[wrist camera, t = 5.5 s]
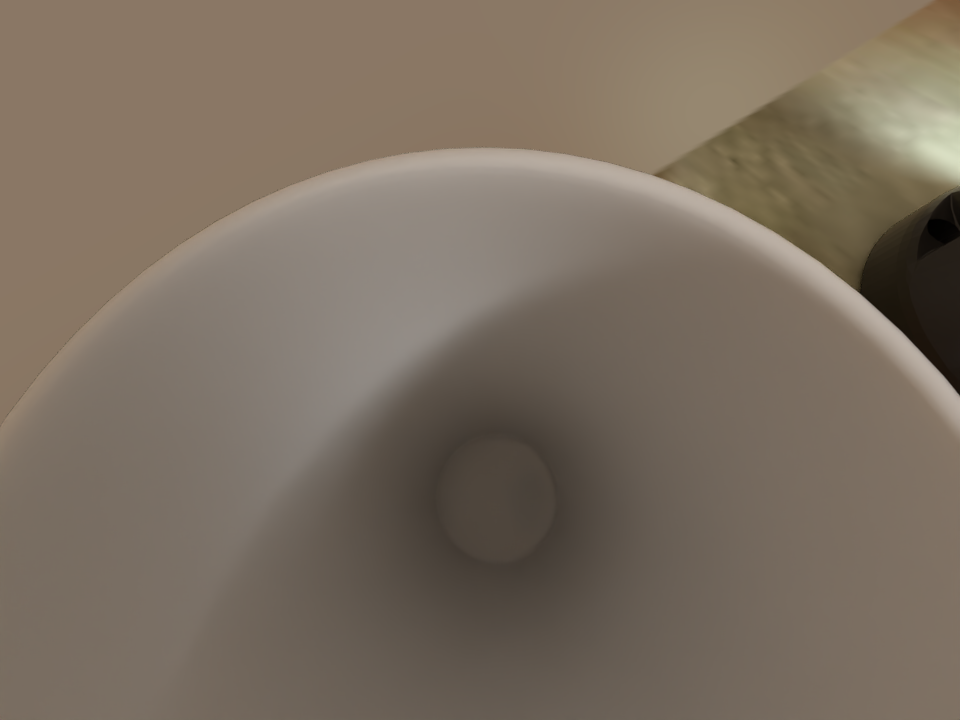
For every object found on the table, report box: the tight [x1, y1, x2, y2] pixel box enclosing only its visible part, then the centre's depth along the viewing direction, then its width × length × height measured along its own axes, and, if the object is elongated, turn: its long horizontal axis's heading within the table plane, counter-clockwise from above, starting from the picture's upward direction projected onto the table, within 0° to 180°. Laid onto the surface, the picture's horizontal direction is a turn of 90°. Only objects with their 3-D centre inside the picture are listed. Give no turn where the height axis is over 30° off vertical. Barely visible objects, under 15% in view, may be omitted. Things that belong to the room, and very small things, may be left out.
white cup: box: [0, 147, 960, 720], centre depth 9 cm, size 7×7×15 cm
